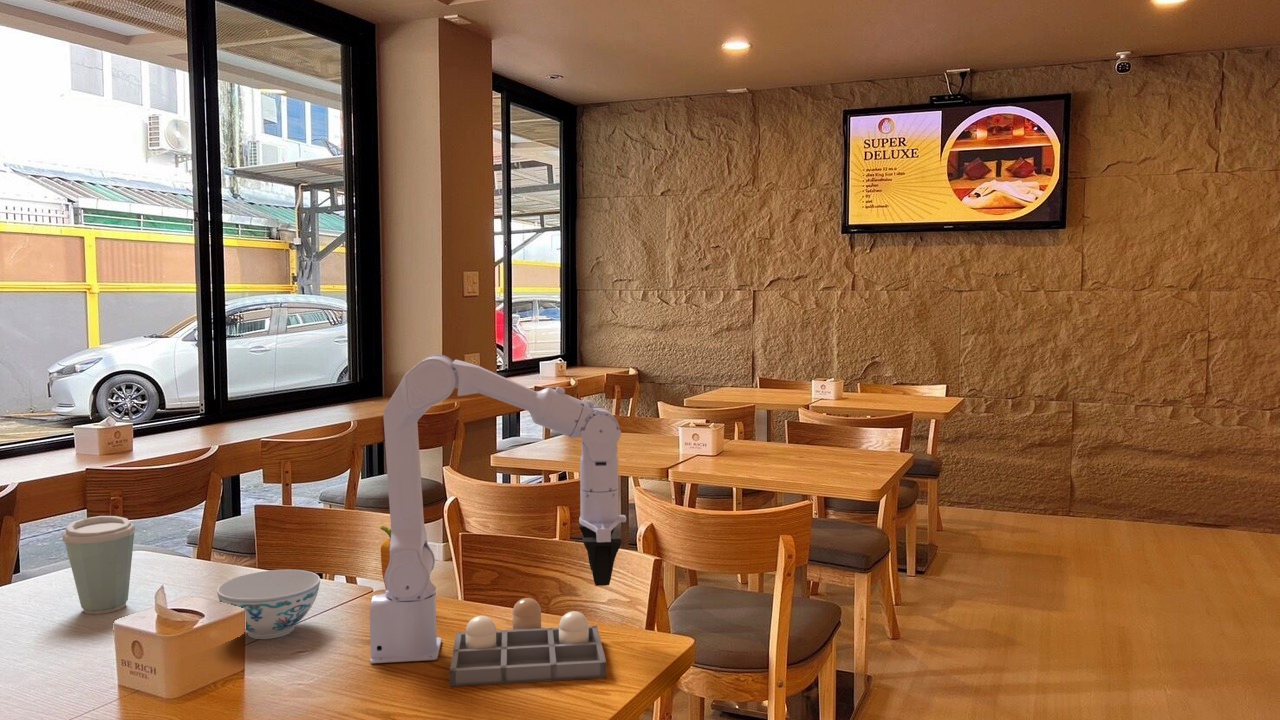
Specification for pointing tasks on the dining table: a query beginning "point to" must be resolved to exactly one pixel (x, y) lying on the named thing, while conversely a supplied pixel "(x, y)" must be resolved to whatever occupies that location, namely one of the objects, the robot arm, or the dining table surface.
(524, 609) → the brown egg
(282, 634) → the chinaware
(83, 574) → the disposable coffee cup
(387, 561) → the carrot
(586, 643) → the egg carton
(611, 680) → the dining table surface
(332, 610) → the dining table surface
